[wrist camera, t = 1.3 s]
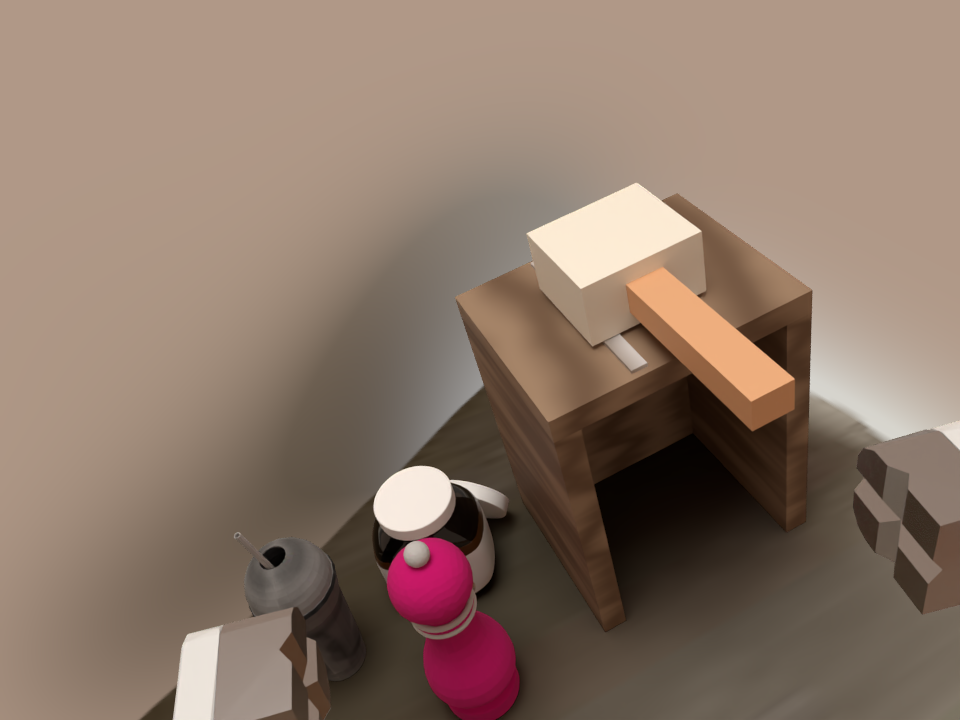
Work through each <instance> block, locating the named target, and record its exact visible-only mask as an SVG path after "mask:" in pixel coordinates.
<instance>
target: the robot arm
mask: <svg viewBox="0 0 960 720" xmlns="http://www.w3.org/2000/svg"><path fill="white" fill-rule="evenodd" d="M857 469H858V471H859V472H860V473H861V474H862V475H863V477H864V479H863V480H862V481H861V482H860V484H859V485H858V486H857V487H856V489H855V490H854V500H853V509H854V513H855V516H856V520H857V524H858V526H859V528H860V530H861V532H862V534H863V536H864V538H865V540H866V541H867V543H868V544H869V545H870V547H871V548H872V549H873V551H874V552H875V553H876V554H878V555H880V556H883V557H885V558H887V559H889V560H891V561H893V562H895V567H894V579H895V580H896V581H897V582H898V584H899V585H900V586H901V588H902V589H903V590H904V592H905V593H906V594H907V596H908V597H909V598H910V599H911V601H912V602H913V603H914V605H915V606H916V607H917V609H918V610H919V611H920V612H921V614H922V615H924V614H927V613H931V612H935V611H939V610H943V609H947V608H951V607H955V606H958V605H960V421H957V422H953V423H950V424H946V425H942V426H939V427H935V428H932V429H930V430H923V431H919V432H916V433H912V434H909V435H906V436H902V437H899V438H895V439H892V440H888V441H885V442H882V443H878V444H875V445H871V446H868V447H864V448H863V449H862V450H861V452H860V453H859V455H858V460H857ZM330 708H331V698H330V686H329V681H328V675H327V670H326V665H325V662H324V659H323V656H322V653H321V651H320V649H319V646H318V644H317V642H316V641H315V640H312V639H310V638H308V637H307V635H306V620H305V619H304V617H303V615H302V613H301V611H300V610H299V608H298V607H292V608H288V609H284V610H280V611H276V612H272V613H268V614H264V615H260V616H256V617H252V618H248V619H244V620H240V621H236V622H232V623H228V624H224V625H221V626H218V627H214V628H210V629H206V630H202V631H198V632H195V633H191V634H188V635H187V637H186V639H185V641H184V643H183V645H182V650H181V658H180V666H179V675H178V683H177V691H176V699H175V708H174V716H173V720H324V719H325V717H326V715H327V713H328V712H329V710H330Z"/></svg>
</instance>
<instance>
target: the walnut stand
mask: <svg viewBox="0 0 960 720" xmlns="http://www.w3.org/2000/svg"><path fill="white" fill-rule="evenodd" d="M662 202H663V203H665V204H666V205H667V206H669V207H670V208H671V209H673V210H674V211H675V212H677V213H678V214H679V215H681V216H682V217H684V218H685V219H686V220H688V221H689V222H690V223H692V224H693V225H694V226H696V227H697V228H698V229H700V230H701V231H702V240H703V253H704V266H705V279H706V291H705V292H703V293H701V294H699V295H697V296H698V297H699V298H700V299H701V300H702V301H704V302H705V303H706V304H707V305H708V306H710V307H711V308H712V309H713V310H714V311H715V312H717V313H718V314H719V315H720V316H721V317H722V318H724V319H725V320H726V321H727V322H728V323H730V324H731V325H732V326H733V327H734V328H735V329H737V330H738V331H739V332H740V333H741V334H742V335H744V336H745V337H746V338H747V339H748V340H750V341H751V342H752V343H753V344H754V345H755V346H757V347H758V348H759V349H760V350H761V351H762V352H764V353H765V354H766V355H767V356H768V357H770V358H771V359H772V360H773V361H774V362H775V363H777V364H778V365H779V366H780V367H781V368H782V369H784V370H785V371H786V372H787V373H788V374H790V375H791V376H792V377H793V378H794V379H795V409H794V410H792V411H790V412H788V413H787V414H785V415H783V416H781V417H779V418H777V419H775V420H773V421H771V422H769V423H767V424H766V425H764V426H762V427H760V428H758V429H756V430H754V431H751V430H750V429H749V428H748V427H747V426H746V425H745V424H744V423H743V422H742V421H741V420H740V419H739V418H738V417H737V416H736V415H735V414H734V413H733V412H732V411H731V410H730V409H729V408H728V407H727V406H726V405H725V404H724V403H723V402H722V401H721V400H720V399H718V398H717V397H716V396H715V395H714V394H713V393H712V392H711V391H710V390H709V389H708V388H707V387H706V386H705V385H704V384H703V383H702V382H701V381H700V380H699V379H698V378H697V377H696V376H695V375H694V374H693V373H692V372H691V371H690V370H689V369H688V368H687V367H686V366H685V365H684V364H683V363H681V362H680V361H679V360H678V359H677V358H676V357H675V356H674V355H673V354H672V353H671V352H670V351H669V350H668V349H667V348H666V347H665V346H664V345H663V344H662V343H661V342H660V341H659V340H658V339H657V338H656V337H655V336H654V335H653V334H652V333H651V332H650V331H649V330H648V329H647V328H646V327H644V326H643V325H642V324H641V323H639V324H637V325H635V326H633V327H631V328H629V329H627V330H625V331H623V332H621V333H619V334H617V335H615V336H613V337H611V338H609V339H607V340H605V341H603V342H601V343H599V344H597V345H594V346H592V345H591V344H590V343H589V342H588V341H587V340H586V339H585V338H584V337H583V336H582V334H581V333H580V332H579V331H578V330H577V329H576V328H575V327H574V326H573V325H572V323H571V322H570V321H569V320H568V319H567V318H566V317H565V316H564V315H563V314H562V312H561V311H560V310H559V309H558V308H557V307H556V306H555V305H554V304H553V303H552V301H551V300H550V299H549V298H548V297H547V296H546V295H545V294H544V293H543V292H542V290H541V289H540V287H539V283H538V279H537V275H536V271H535V267H534V263H533V261H531V262H529V263H527V264H525V265H523V266H521V267H519V268H516V269H514V270H512V271H510V272H508V273H506V274H503V275H501V276H499V277H497V278H495V279H493V280H491V281H488V282H486V283H484V284H482V285H480V286H478V287H476V288H473V289H471V290H469V291H467V292H465V293H463V294H461V295H458V296H456V297H455V299H456V302H457V305H458V308H459V311H460V314H461V317H462V320H463V323H464V326H465V329H466V332H467V335H468V338H469V341H470V344H471V347H472V350H473V353H474V356H475V359H476V362H477V365H478V368H479V371H480V374H481V377H482V380H483V383H484V386H485V389H486V392H487V395H488V398H489V401H490V404H491V407H492V410H493V413H494V416H495V419H496V422H497V425H498V428H499V431H500V435H501V438H502V441H503V444H504V447H505V450H506V453H507V456H508V459H509V462H510V465H511V468H512V471H513V474H514V477H515V480H516V483H517V486H518V489H519V492H520V495H521V498H522V501H523V503H524V505H525V506H526V508H527V510H528V511H529V513H530V514H531V516H532V517H533V519H534V521H535V522H536V524H537V525H538V527H539V528H540V530H541V532H542V533H543V535H544V536H545V538H546V539H547V541H548V543H549V544H550V546H551V547H552V549H553V550H554V552H555V554H556V555H557V557H558V558H559V560H560V561H561V563H562V565H563V566H564V568H565V569H566V571H567V572H568V574H569V576H570V577H571V579H572V580H573V582H574V583H575V585H576V587H577V588H578V590H579V591H580V593H581V595H582V596H583V598H584V599H585V601H586V602H587V604H588V606H589V607H590V609H591V610H592V612H593V613H594V615H595V617H596V618H597V620H598V621H599V623H600V624H601V626H602V628H603V629H604V631H605V632H606V631H608V630H610V629H612V628H613V627H615V626H617V625H619V624H621V623H623V622H624V621H626V618H625V614H624V609H623V605H622V601H621V597H620V592H619V588H618V584H617V580H616V576H615V571H614V567H613V563H612V559H611V554H610V550H609V546H608V542H607V537H606V533H605V529H604V525H603V520H602V516H601V512H600V508H599V503H598V499H597V495H596V491H595V486H594V484H596V483H598V482H600V481H602V480H604V479H605V478H607V477H609V476H611V475H613V474H615V473H617V472H619V471H621V470H623V469H625V468H627V467H629V466H631V465H632V464H634V463H636V462H638V461H640V460H642V459H644V458H646V457H648V456H650V455H652V454H654V453H656V452H658V451H659V450H661V449H663V448H665V447H667V446H669V445H671V444H673V443H675V442H677V441H679V440H681V439H683V438H685V437H686V436H688V435H690V434H692V433H693V434H694V435H695V436H696V437H697V438H698V439H699V440H700V441H701V442H702V443H703V444H704V445H705V446H706V447H707V448H708V450H709V451H710V452H711V453H712V454H713V455H714V456H715V457H716V458H717V459H718V460H719V461H720V462H721V463H722V464H723V466H724V467H725V468H726V469H727V470H728V471H729V472H730V473H731V474H732V475H733V476H734V477H735V478H736V479H737V480H738V481H739V483H740V484H741V485H742V486H743V487H744V488H745V489H746V490H747V491H748V492H749V493H750V494H751V495H752V496H753V497H754V498H755V500H756V501H757V502H758V503H759V504H760V505H761V506H762V507H763V508H764V509H765V510H766V511H767V512H768V513H769V514H770V515H771V517H772V518H773V519H774V520H775V521H776V522H777V523H778V524H779V525H780V526H781V527H782V528H783V529H784V530H785V531H786V532H788V531H790V530H792V529H793V528H795V527H797V526H799V525H801V524H803V523H804V522H806V494H807V459H808V424H809V389H810V354H811V318H812V317H811V316H812V290H811V289H810V288H809V287H807V286H806V285H804V284H803V283H802V282H800V281H799V280H797V279H796V278H794V277H793V276H792V275H790V274H789V273H788V272H786V271H785V270H784V269H782V268H781V267H779V266H778V265H777V264H775V263H774V262H772V261H771V260H769V259H768V258H767V257H765V256H764V255H763V254H761V253H760V252H758V251H757V250H756V249H754V248H753V247H751V246H750V245H749V244H747V243H745V242H744V241H743V240H742V239H740V238H739V237H737V236H736V235H735V234H733V233H732V232H730V231H729V230H727V229H726V228H725V227H724V226H722V225H721V224H719V223H718V222H716V221H715V220H714V219H712V218H711V217H709V216H708V215H707V214H705V213H704V212H703V211H701V210H700V209H698V208H697V207H696V206H694V205H693V204H691V203H690V202H688V201H687V200H686V199H684V198H683V197H681V196H680V195H679V194H675V195H673V196H671V197H668V198H666V199H664V200H662Z"/></svg>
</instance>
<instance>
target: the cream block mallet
mask: <svg viewBox="0 0 960 720" xmlns="http://www.w3.org/2000/svg"><path fill="white" fill-rule="evenodd" d="M527 238H528V242H529V246H530V250H531V254H532V259H533V263H534V267H535V271H536V275H537V279H538V283H539V287H540V289H541V290H542V292H543V293H544V294H545V295H546V296H547V297H548V298H549V299H550V300H551V301H552V303H553V304H554V305H555V306H556V307H557V308H558V309H559V310H560V311H561V312H562V314H563V315H564V316H565V317H566V318H567V319H568V320H569V321H570V322H571V323H572V325H573V326H574V327H575V328H576V329H577V330H578V331H579V332H580V333H581V334H582V336H583V337H584V338H585V339H586V340H587V341H588V342H589V343H590V344H591V345H592V346H594V345H597V344H599V343H601V342H603V341H605V340H607V339H609V338H611V337H613V336H615V335H617V334H619V333H621V332H623V331H625V330H627V329H629V328H631V327H633V326H635V325H637V324H639V323H641V324H642V325H643V326H644V327H646V328H647V329H648V330H649V331H650V332H651V333H652V334H653V335H654V336H655V337H656V338H657V339H658V340H659V341H660V342H661V343H662V344H663V345H664V346H665V347H666V348H667V349H668V350H669V351H670V352H671V353H672V354H673V355H674V356H675V357H676V358H677V359H678V360H679V361H680V362H681V363H683V364H684V365H685V366H686V367H687V368H688V369H689V370H690V371H691V372H692V373H693V374H694V375H695V376H696V377H697V378H698V379H699V380H700V381H701V382H702V383H703V384H704V385H705V386H706V387H707V388H708V389H709V390H710V391H711V392H712V393H713V394H714V395H715V396H716V397H717V398H718V399H720V400H721V401H722V402H723V403H724V404H725V405H726V406H727V407H728V408H729V409H730V410H731V411H732V412H733V413H734V414H735V415H736V416H737V417H738V418H739V419H740V420H741V421H742V422H743V423H744V424H745V425H746V426H747V427H748V428H749V429H750V430H751V431H754V430H756V429H758V428H760V427H762V426H764V425H766V424H767V423H769V422H771V421H773V420H775V419H777V418H779V417H781V416H783V415H785V414H787V413H788V412H790V411H792V410H794V409H795V379H794V378H793V377H792V376H791V375H790V374H788V373H787V372H786V371H785V370H784V369H782V368H781V367H780V366H779V365H778V364H777V363H775V362H774V361H773V360H772V359H771V358H770V357H768V356H767V355H766V354H765V353H764V352H762V351H761V350H760V349H759V348H758V347H757V346H755V345H754V344H753V343H752V342H751V341H750V340H748V339H747V338H746V337H745V336H744V335H742V334H741V333H740V332H739V331H738V330H737V329H735V328H734V327H733V326H732V325H731V324H730V323H728V322H727V321H726V320H725V319H724V318H722V317H721V316H720V315H719V314H718V313H717V312H715V311H714V310H713V309H712V308H711V307H710V306H708V305H707V304H706V303H705V302H704V301H702V300H701V299H700V298H699V297H698V296H697V295H699V294H701V293H703V292H705V291H706V279H705V266H704V253H703V240H702V231H701V230H700V229H698V228H697V227H696V226H694V225H693V224H692V223H690V222H689V221H688V220H686V219H685V218H684V217H682V216H681V215H679V214H678V213H677V212H675V211H674V210H673V209H671V208H670V207H669V206H667V205H666V204H665V203H663V202H662V201H661V200H659V199H658V198H657V197H655V196H654V195H653V194H651V193H650V192H649V191H647V190H646V189H645V188H643V187H642V186H641V185H639V184H638V183H635V184H633V185H631V186H629V187H626V188H624V189H623V190H620V191H618V192H616V193H613V194H611V195H609V196H607V197H605V198H603V199H600V200H598V201H596V202H594V203H592V204H590V205H588V206H585V207H583V208H581V209H579V210H577V211H574V212H573V213H570V214H568V215H566V216H564V217H562V218H559V219H557V220H555V221H553V222H550V223H548V224H546V225H544V226H542V227H540V228H537V229H535V230H533V231H531V232H529V233H527Z"/></svg>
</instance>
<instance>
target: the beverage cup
mask: <svg viewBox="0 0 960 720" xmlns="http://www.w3.org/2000/svg"><path fill="white" fill-rule="evenodd" d="M234 538H235V539H236V540H237V541H238V542H239V543H240V544H241V545H243V547H245V549H247V550H248V551H249V552H250V553H251V554H252V555H253V558H252V560H251V561H250V563H249V565H248V567H247V571H246V574H245V579H244V585H245V596H246V599H247V602H248V604H249V608H250V610H251V612H252V614H253V616H254V617H256V616H260V615H264V614H268V613H272V612H276V611H280V610H284V609H288V608H292V607H298V608H299V610H300V611H301V613H302V615H303V617H304V619H305V620H306V635H307V637H308V638H310V639H312V640H315V641H316V642H317V644H318V646H319V649H320V651H321V653H322V656H323V659H324V662H325V665H326V670H327V675H328V680H331V681H342V680H344V679H347V678H349V677H351V676H352V675H353V674H355V673H356V672H357V671H358V670H359V668H360V667H361V666H362V664H363V662H364V659H365V655H366V648H365V644H364V642H363V639H362V636H361V633H360V631H359V628H358V626H357V624H356V622H355V620H354V618H353V615H352V613H351V611H350V609H349V607H348V605H347V602H346V600H345V598H344V596H343V594H342V591H341V589H340V587H339V584H338V579H337V575H336V571H335V565H334V563H333V562H332V560H331V558H330V557H329V555H327V554H326V553H324V552H323V551H322V550H321V549H320V548H319V547H317V546H316V545H314V544H313V543H311V542H310V541H307V540H304V539H299V538H294V537H289V538H280V539H277V540H274V541H272V542H269V543H268V544H266V545H265V546H263V547H262V548H261V549H260V550H259V551H257V549H256V548H255V547H254V546H253V545H252V544H250V542H248V541H247V540H246V539H245V538H244V537H243V536H242V535H241V534H240V533H239V532H238V533H236V534H235V535H234Z"/></svg>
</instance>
